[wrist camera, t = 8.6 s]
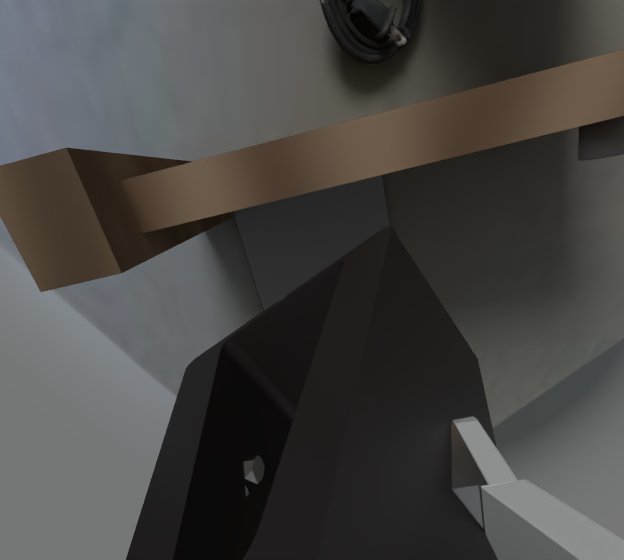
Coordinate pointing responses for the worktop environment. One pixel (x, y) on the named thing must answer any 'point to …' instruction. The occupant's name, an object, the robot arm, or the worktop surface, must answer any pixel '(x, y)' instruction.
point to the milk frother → (370, 27)
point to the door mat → (308, 233)
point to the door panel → (282, 169)
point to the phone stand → (324, 428)
